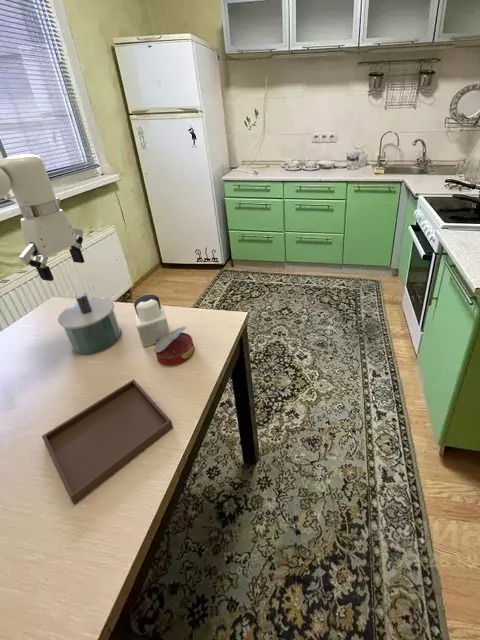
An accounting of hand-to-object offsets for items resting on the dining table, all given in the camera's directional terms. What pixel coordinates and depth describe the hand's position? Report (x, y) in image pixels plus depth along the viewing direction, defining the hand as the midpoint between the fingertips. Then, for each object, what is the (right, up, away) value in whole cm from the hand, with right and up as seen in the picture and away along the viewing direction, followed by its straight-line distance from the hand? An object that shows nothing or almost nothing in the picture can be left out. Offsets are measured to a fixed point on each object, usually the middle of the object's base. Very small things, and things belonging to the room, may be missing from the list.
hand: (64, 270), depth 86 cm
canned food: (+28, -23, +3) cm, 37 cm away
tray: (+22, -34, -18) cm, 44 cm away
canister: (+3, -21, +9) cm, 23 cm away
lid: (+3, -12, +5) cm, 13 cm away
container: (+20, -20, +10) cm, 30 cm away
